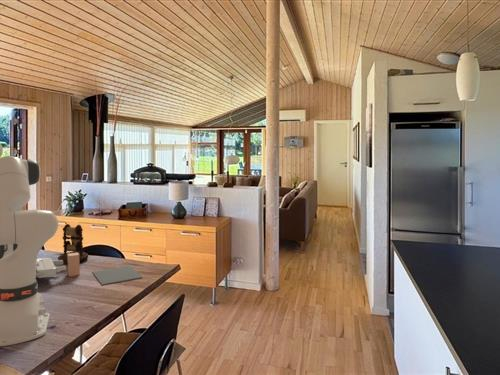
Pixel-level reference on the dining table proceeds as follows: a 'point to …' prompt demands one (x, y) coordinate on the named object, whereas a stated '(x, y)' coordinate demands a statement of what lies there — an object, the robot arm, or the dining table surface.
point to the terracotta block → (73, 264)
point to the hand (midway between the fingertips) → (64, 264)
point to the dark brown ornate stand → (73, 242)
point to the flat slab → (116, 275)
